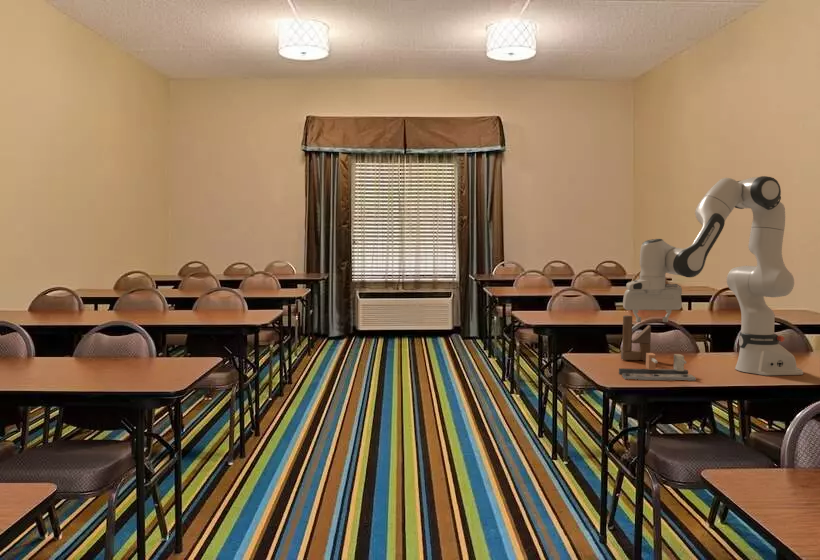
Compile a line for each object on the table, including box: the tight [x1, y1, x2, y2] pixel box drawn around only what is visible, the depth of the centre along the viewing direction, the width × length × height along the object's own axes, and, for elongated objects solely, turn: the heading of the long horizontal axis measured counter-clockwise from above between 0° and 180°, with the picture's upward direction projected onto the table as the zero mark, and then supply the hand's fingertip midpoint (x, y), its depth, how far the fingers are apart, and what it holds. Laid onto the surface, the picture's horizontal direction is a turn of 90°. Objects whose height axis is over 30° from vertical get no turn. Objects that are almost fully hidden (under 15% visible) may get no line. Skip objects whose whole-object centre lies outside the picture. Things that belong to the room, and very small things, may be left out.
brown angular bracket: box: [620, 315, 652, 362], centre depth 283 cm, size 4×11×18 cm, turn 84°
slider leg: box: [645, 352, 658, 370], centre depth 253 cm, size 2×10×5 cm, turn 175°
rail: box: [618, 353, 689, 375], centre depth 253 cm, size 24×10×7 cm, turn 85°
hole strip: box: [621, 373, 697, 382], centre depth 249 cm, size 24×5×1 cm, turn 85°
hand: (651, 322), depth 255 cm, fingers open, 8 cm apart
